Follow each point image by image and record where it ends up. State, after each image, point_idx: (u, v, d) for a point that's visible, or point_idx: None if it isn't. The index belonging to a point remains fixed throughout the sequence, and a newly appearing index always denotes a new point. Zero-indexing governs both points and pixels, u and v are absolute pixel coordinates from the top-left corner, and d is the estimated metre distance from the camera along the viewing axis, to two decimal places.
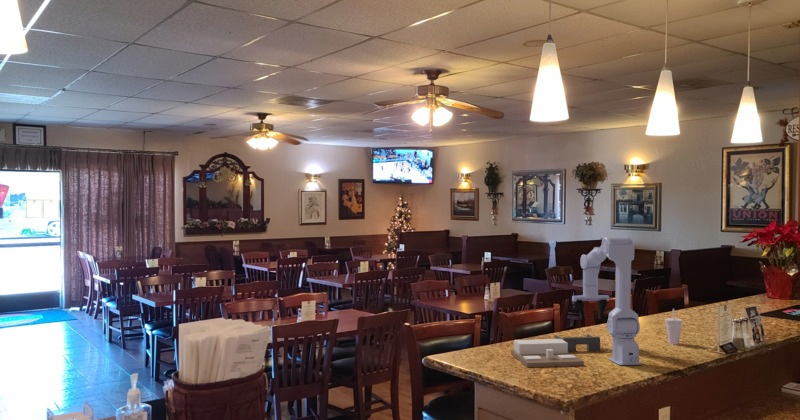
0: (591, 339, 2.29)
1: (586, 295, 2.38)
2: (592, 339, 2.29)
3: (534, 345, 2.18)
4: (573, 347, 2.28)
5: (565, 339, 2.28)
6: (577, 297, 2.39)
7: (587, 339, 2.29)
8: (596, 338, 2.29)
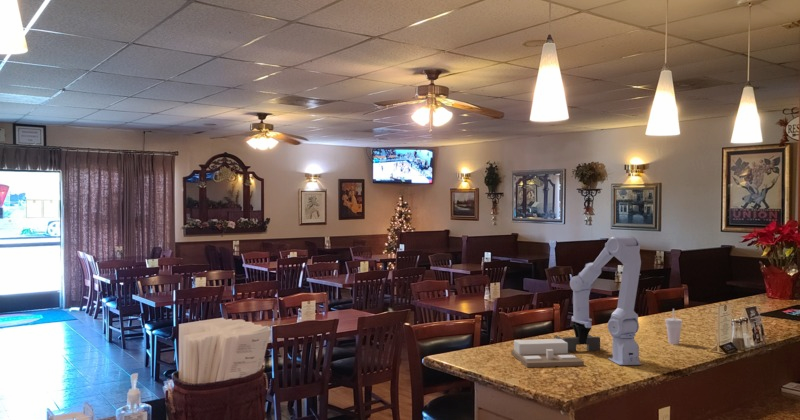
0: (591, 339, 2.29)
1: None
2: (592, 339, 2.29)
3: (534, 345, 2.18)
4: (573, 347, 2.28)
5: (565, 339, 2.28)
6: (572, 317, 2.35)
7: (587, 339, 2.29)
8: (596, 338, 2.29)
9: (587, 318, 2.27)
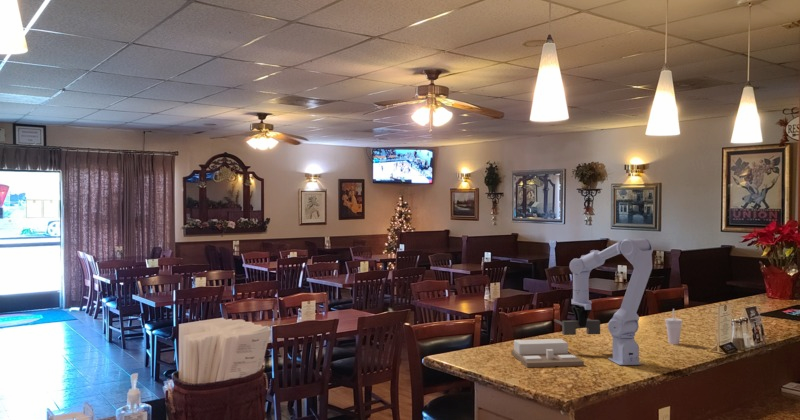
0: (591, 322, 2.27)
1: None
2: (592, 322, 2.27)
3: (534, 345, 2.18)
4: (573, 330, 2.26)
5: (565, 322, 2.26)
6: (572, 300, 2.34)
7: (587, 322, 2.27)
8: (596, 321, 2.27)
9: (587, 300, 2.26)
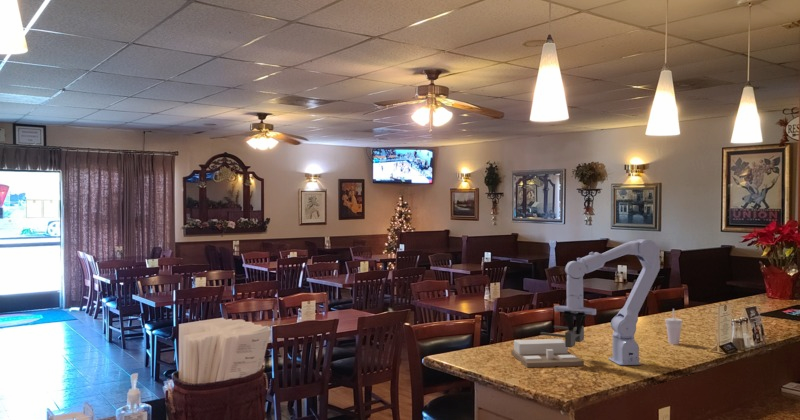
0: None
1: (566, 306, 2.14)
2: (581, 329, 2.16)
3: (534, 345, 2.18)
4: (574, 340, 2.10)
5: (571, 334, 2.08)
6: (557, 307, 2.16)
7: None
8: (582, 327, 2.18)
9: None
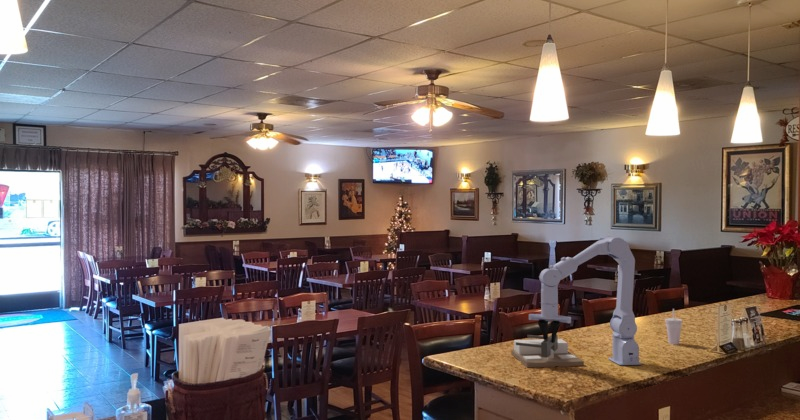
0: None
1: (541, 314, 2.12)
2: None
3: None
4: (549, 350, 2.08)
5: (547, 344, 2.06)
6: (532, 316, 2.14)
7: None
8: (556, 336, 2.16)
9: None
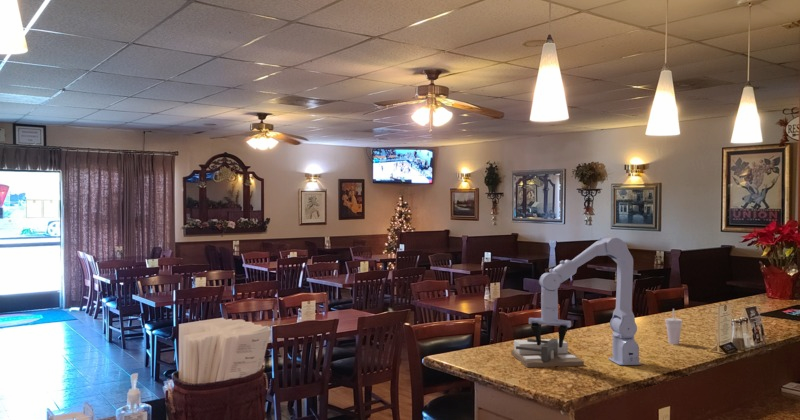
0: (555, 342, 2.15)
1: (541, 318, 2.12)
2: (555, 342, 2.15)
3: (534, 345, 2.18)
4: (549, 354, 2.08)
5: (547, 348, 2.06)
6: (532, 319, 2.14)
7: (554, 343, 2.13)
8: (556, 340, 2.16)
9: None
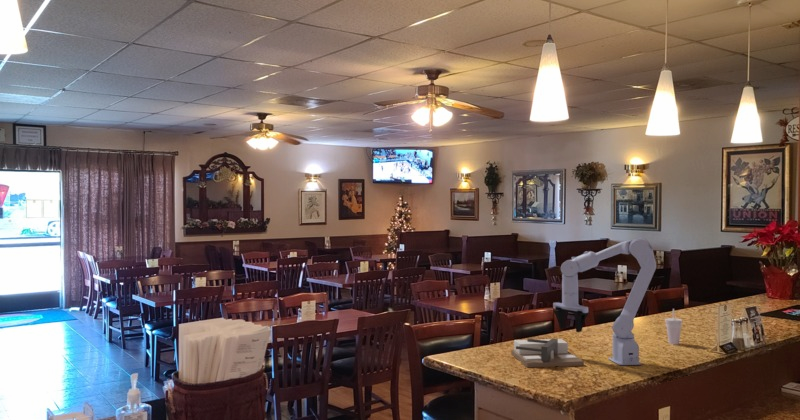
0: (555, 342, 2.15)
1: (562, 303, 2.21)
2: (555, 342, 2.15)
3: (534, 345, 2.18)
4: (549, 354, 2.08)
5: (547, 348, 2.06)
6: (555, 304, 2.24)
7: (554, 343, 2.13)
8: (556, 340, 2.16)
9: None
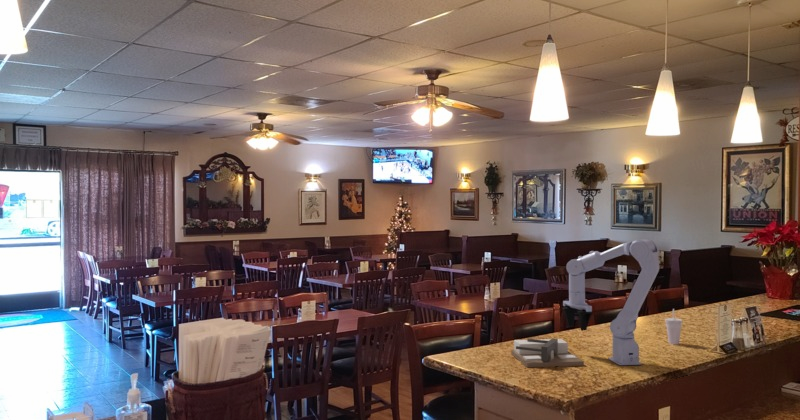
0: (555, 342, 2.15)
1: None
2: (555, 342, 2.15)
3: (534, 345, 2.18)
4: (549, 354, 2.08)
5: (547, 348, 2.06)
6: (564, 302, 2.28)
7: (554, 343, 2.13)
8: (556, 340, 2.16)
9: (584, 302, 2.21)
